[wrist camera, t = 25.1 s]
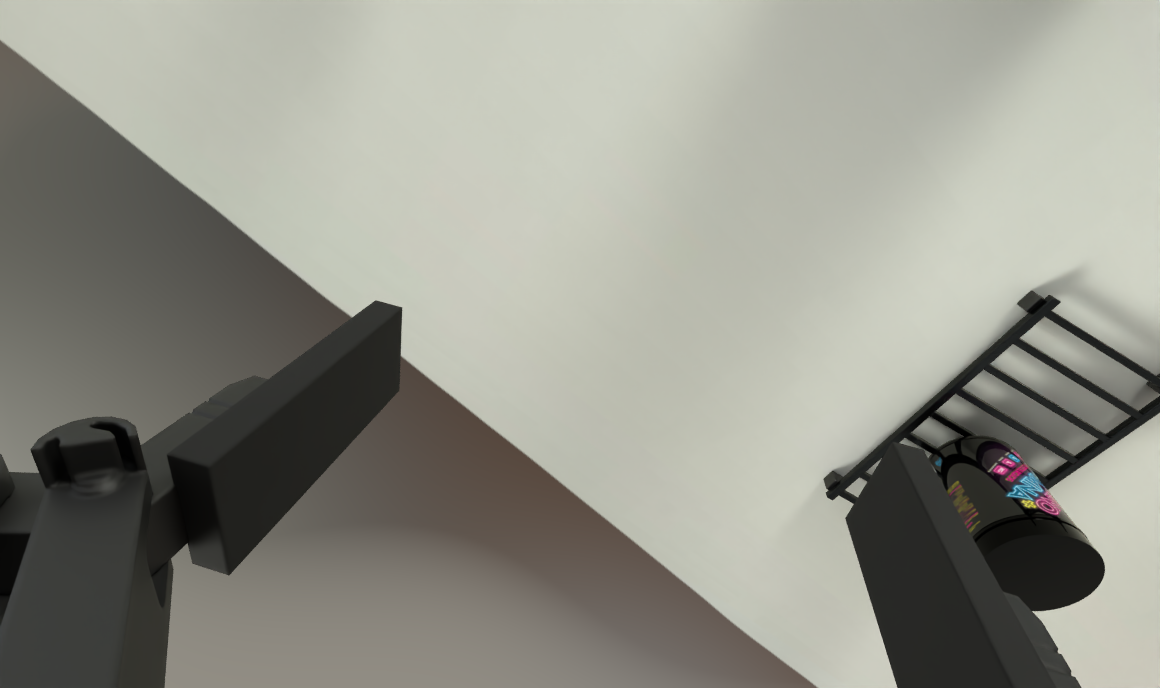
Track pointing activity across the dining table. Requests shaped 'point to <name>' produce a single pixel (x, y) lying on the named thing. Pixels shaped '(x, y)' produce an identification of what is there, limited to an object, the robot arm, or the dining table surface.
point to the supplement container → (1017, 523)
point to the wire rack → (1036, 312)
